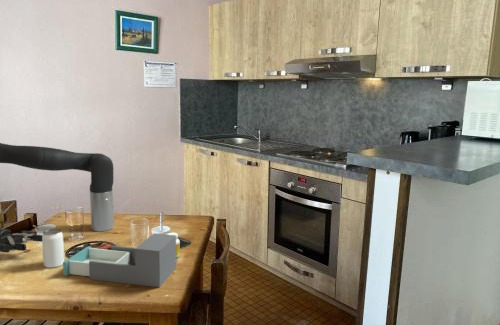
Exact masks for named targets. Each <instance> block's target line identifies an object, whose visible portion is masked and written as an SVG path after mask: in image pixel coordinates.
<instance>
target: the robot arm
mask: <svg viewBox="0 0 500 325" xmlns="http://www.w3.org/2000/svg"><path fill="white" fill-rule="evenodd" d="M0 164H12V165H16V166H18V167H19V166H21V167H24V168H28V169H33V170H41V171H53V172H57V171H59V172H60V171H68V170H77V171H83V172H88V173H90V179H91V180H90V185H89V201H90V221H91V222H90V228H91V230H92V231H94V232H107V231H110V230H113V229H114V226H115V223H114V222H115V216H114V213H115V212H114V205H113V204H114V203H113V202H114V201H113V185H114V164H113V160H112V158H110V157H109V156H107V155H106V154H104V153H94V152H92V153H91V152H90V153H88V152H84V153H83V152H74V151H70V150H66V149H60V148H54V147H47V146H34V145H16V144H15V145H14V144H13V145H12V144H8V143H4V142H3V143H1V142H0ZM37 233H38V232H37V231H33V230H32V231H31V230H21V231H20V233H18V232H16V233H13V232H12V231H11V230H10V229H6V228H0V253H6V254H7V253H10V251H13V252H14V251H21V252H22V251H27V245H26V244H27V243H28V242H38V243H39V242H40V243H42V236H43V234H42V235H40V234H37Z"/></svg>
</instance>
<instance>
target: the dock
mask: <svg viewBox="0 0 500 325" xmlns="http://www.w3.org/2000/svg"><path fill="white" fill-rule="evenodd" d="M166 234H167V233H166ZM166 234H163V233H153V234H151V235H150V236H149V237H148V238H146V239H145V240H144V241H143V242H142V243H141V244H139V245H138V246H137V247H130V246H123V245H122V246H121V245H111V246H110V250H116V251H126V252H130V265H126V264H117V263H107V262H98V261H89V273H90V276H89V280H95V281H103V282H104V281H105V282H112V283H121V284H129V285H137V286H138V285H139V286H145V287H146V286H147V287H153V288H161V286H162V285H163V284H164V283H165V282H166V281H167V279H168V278H169V277H170V276H171V274H173V272H174V271H175V270H176V269H177V261H176V235H166Z"/></svg>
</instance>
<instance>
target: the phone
mask: <svg viewBox="0 0 500 325" xmlns="http://www.w3.org/2000/svg"><path fill="white" fill-rule="evenodd" d="M177 239H179V241H180V250H181V249H183V248H186V247H188V246H191V245H192V241H191V240H186V239H184V238H181V237H179V236H178V238H177Z"/></svg>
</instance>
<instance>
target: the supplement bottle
mask: <svg viewBox="0 0 500 325" xmlns="http://www.w3.org/2000/svg"><path fill="white" fill-rule="evenodd" d="M166 234H167V235H176V262H177V261H179V260H180V258H181V257H180V255H181V254H180V251H181V249H180V241H179V239H177V238H178V237H179V233H177V232H169V233H166Z"/></svg>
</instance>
